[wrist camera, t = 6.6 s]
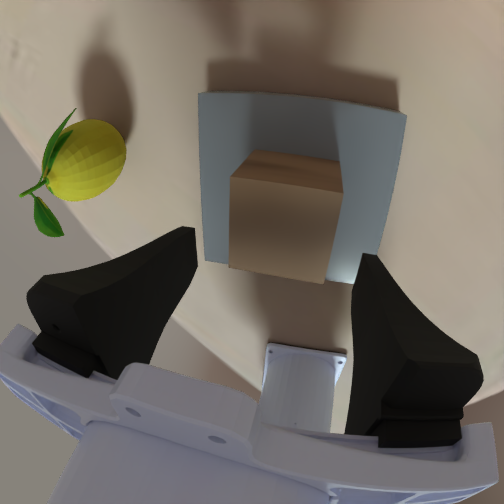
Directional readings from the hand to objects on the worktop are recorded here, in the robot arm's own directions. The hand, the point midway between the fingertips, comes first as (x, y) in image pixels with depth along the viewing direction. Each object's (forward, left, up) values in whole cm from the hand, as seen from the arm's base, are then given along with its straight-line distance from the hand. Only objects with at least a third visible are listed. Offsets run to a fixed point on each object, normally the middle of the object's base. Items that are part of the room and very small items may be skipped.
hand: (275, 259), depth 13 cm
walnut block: (0, 0, -7) cm, 7 cm away
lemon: (+2, +14, -9) cm, 17 cm away
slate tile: (0, 0, -9) cm, 9 cm away
